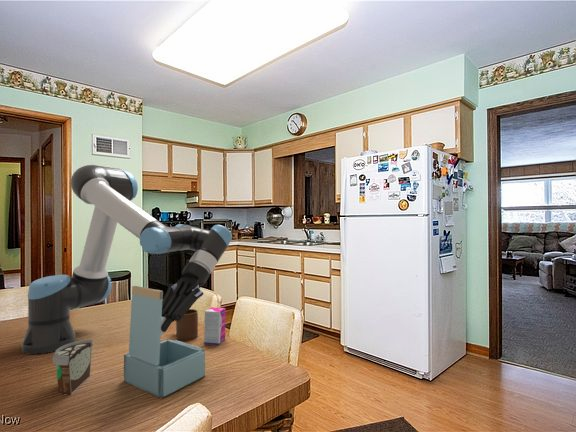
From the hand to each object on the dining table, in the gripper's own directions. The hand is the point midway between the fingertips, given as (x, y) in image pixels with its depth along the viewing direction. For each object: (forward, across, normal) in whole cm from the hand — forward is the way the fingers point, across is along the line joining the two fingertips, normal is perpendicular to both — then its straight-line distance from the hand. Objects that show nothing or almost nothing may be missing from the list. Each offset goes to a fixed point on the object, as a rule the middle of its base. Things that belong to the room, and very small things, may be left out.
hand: (151, 341), depth 87 cm
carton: (+5, 0, -11) cm, 12 cm away
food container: (+17, +18, 0) cm, 25 cm away
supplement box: (-13, +9, -31) cm, 35 cm away
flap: (+5, +1, -1) cm, 5 cm away
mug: (-12, +23, -29) cm, 39 cm away
